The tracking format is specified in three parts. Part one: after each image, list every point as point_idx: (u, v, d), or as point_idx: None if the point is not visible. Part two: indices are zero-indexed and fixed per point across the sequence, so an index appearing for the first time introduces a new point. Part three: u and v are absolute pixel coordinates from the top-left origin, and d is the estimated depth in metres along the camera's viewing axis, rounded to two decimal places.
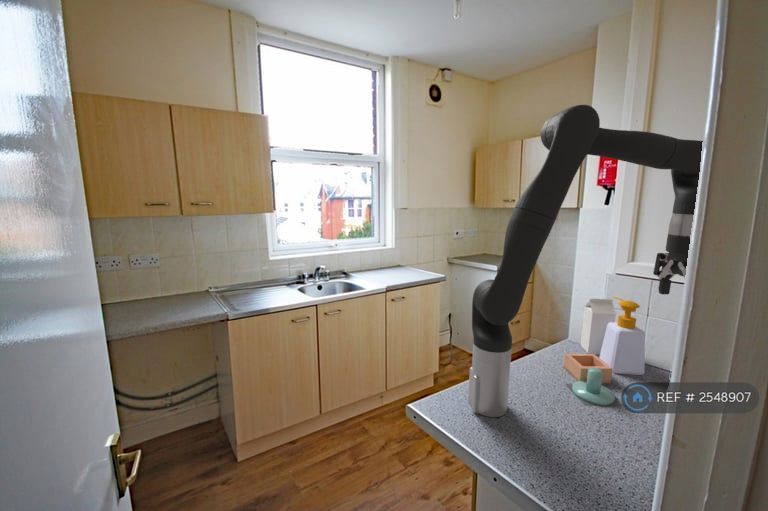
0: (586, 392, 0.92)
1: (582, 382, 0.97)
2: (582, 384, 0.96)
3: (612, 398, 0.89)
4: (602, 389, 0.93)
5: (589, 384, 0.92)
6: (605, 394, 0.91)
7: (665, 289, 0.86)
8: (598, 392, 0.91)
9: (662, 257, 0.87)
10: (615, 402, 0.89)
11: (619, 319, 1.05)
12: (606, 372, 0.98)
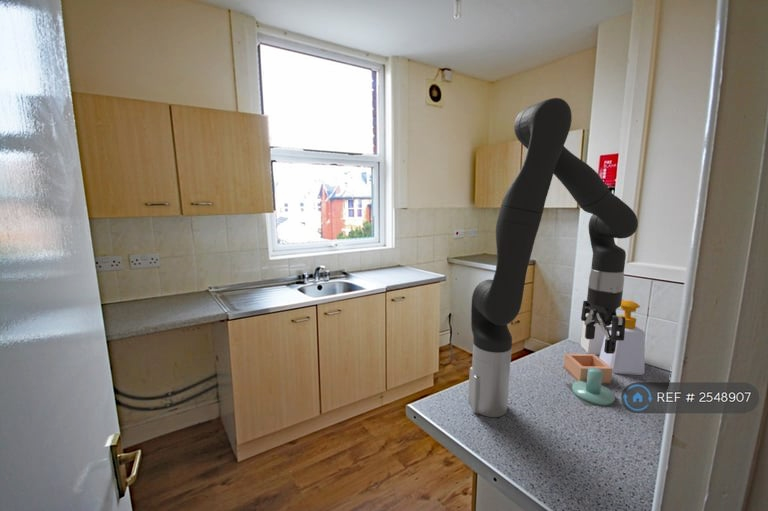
0: (586, 392, 0.92)
1: (582, 382, 0.97)
2: (582, 384, 0.96)
3: (612, 398, 0.89)
4: (602, 389, 0.93)
5: (589, 384, 0.92)
6: (605, 394, 0.91)
7: (590, 334, 0.94)
8: (598, 392, 0.91)
9: (587, 305, 0.94)
10: (615, 402, 0.89)
11: None
12: (606, 372, 0.98)
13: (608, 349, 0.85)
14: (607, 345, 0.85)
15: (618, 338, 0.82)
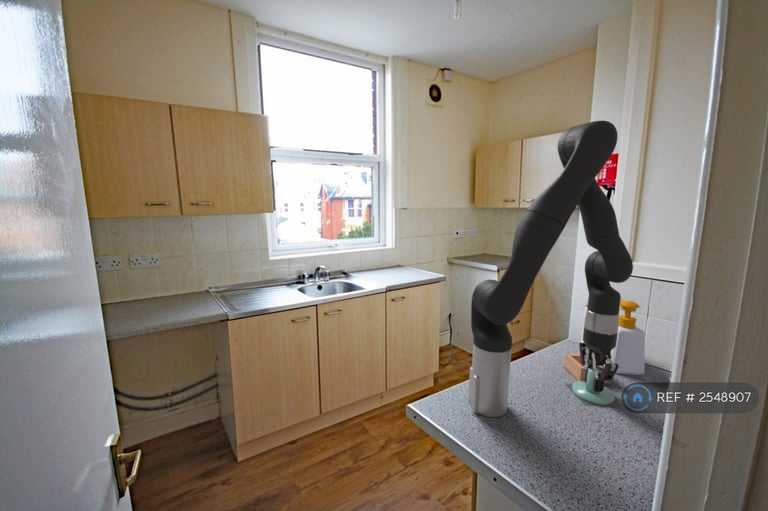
0: (586, 392, 0.92)
1: (582, 382, 0.97)
2: (582, 384, 0.96)
3: (612, 398, 0.89)
4: None
5: (589, 383, 0.92)
6: (605, 394, 0.91)
7: None
8: (598, 392, 0.91)
9: (583, 346, 0.96)
10: (615, 402, 0.89)
11: (619, 319, 1.05)
12: None
13: (597, 388, 0.90)
14: (596, 384, 0.90)
15: (606, 378, 0.87)
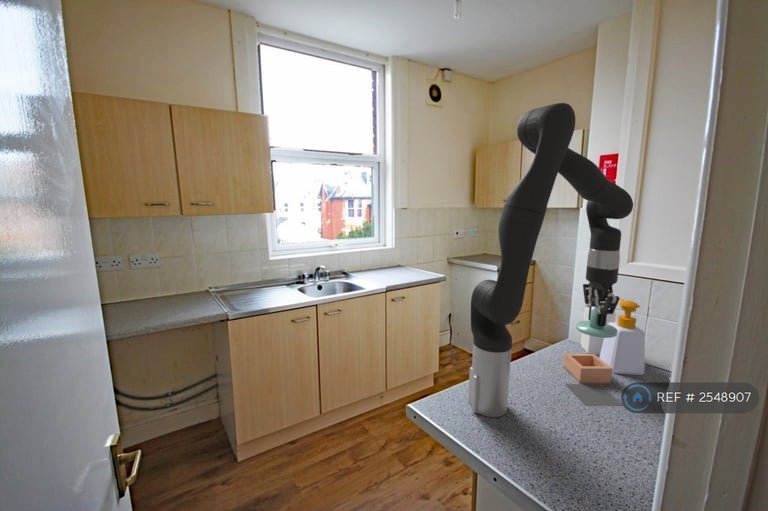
0: (590, 328, 0.97)
1: (586, 321, 1.02)
2: (586, 323, 1.01)
3: (614, 331, 0.94)
4: (605, 326, 0.98)
5: (593, 320, 0.97)
6: (607, 329, 0.96)
7: None
8: (601, 327, 0.96)
9: (587, 287, 1.01)
10: (615, 402, 0.89)
11: (619, 319, 1.05)
12: (606, 372, 0.98)
13: (599, 322, 0.95)
14: (599, 319, 0.95)
15: (608, 312, 0.92)
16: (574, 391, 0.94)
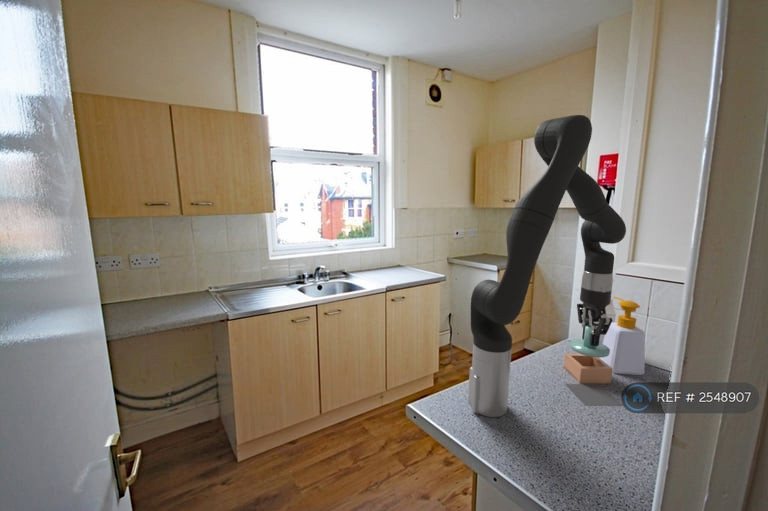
0: (583, 347, 1.00)
1: (580, 340, 1.05)
2: (580, 341, 1.04)
3: (607, 351, 0.98)
4: (598, 345, 1.02)
5: (586, 339, 1.00)
6: (600, 349, 0.99)
7: None
8: (594, 347, 0.99)
9: (581, 307, 1.04)
10: (615, 402, 0.89)
11: (619, 319, 1.05)
12: (606, 372, 0.98)
13: (593, 342, 0.98)
14: (592, 339, 0.98)
15: (601, 332, 0.95)
16: (574, 391, 0.94)
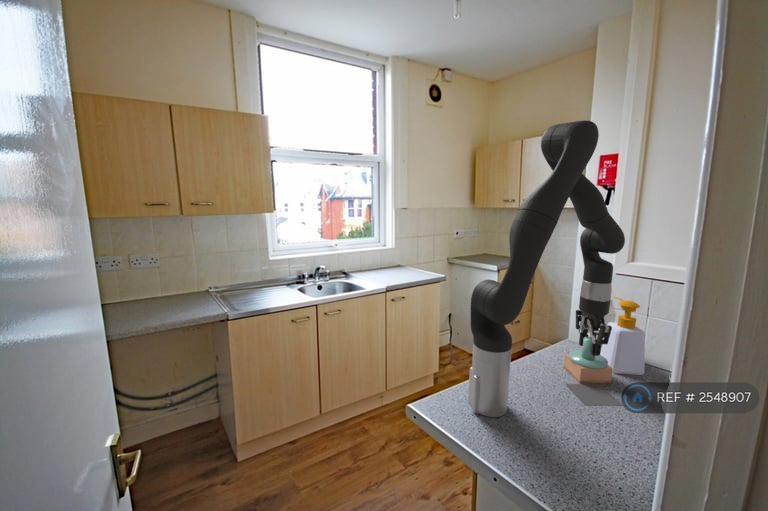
0: (582, 359, 1.01)
1: (578, 351, 1.06)
2: (578, 353, 1.05)
3: (605, 363, 0.98)
4: (596, 356, 1.02)
5: (585, 351, 1.01)
6: (599, 360, 1.00)
7: None
8: (592, 358, 1.00)
9: (579, 313, 1.05)
10: (615, 402, 0.89)
11: (619, 319, 1.05)
12: (606, 372, 0.98)
13: (594, 352, 0.97)
14: (593, 348, 0.97)
15: (603, 342, 0.94)
16: (574, 391, 0.94)
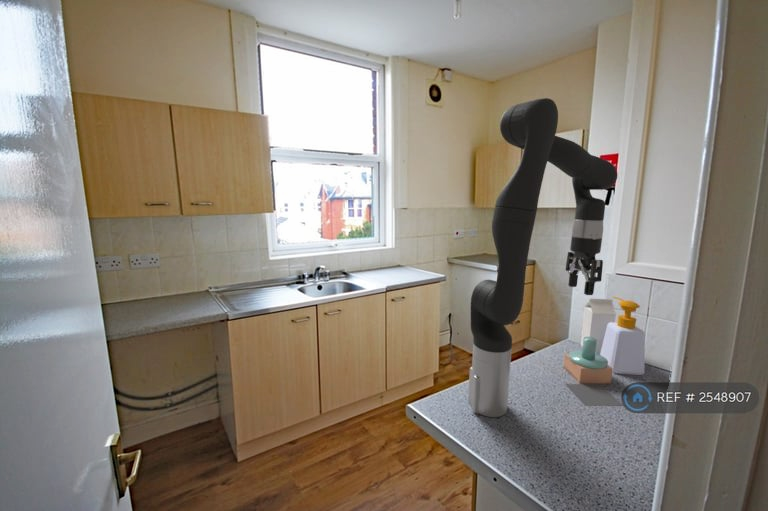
0: (582, 359, 1.01)
1: (578, 351, 1.06)
2: (578, 353, 1.05)
3: (605, 363, 0.98)
4: (596, 356, 1.02)
5: (585, 351, 1.01)
6: (599, 360, 1.00)
7: (573, 282, 1.03)
8: (592, 358, 1.00)
9: (571, 255, 1.03)
10: (615, 402, 0.89)
11: (619, 319, 1.05)
12: (606, 372, 0.98)
13: (587, 290, 0.95)
14: (586, 287, 0.95)
15: (596, 279, 0.92)
16: (574, 391, 0.94)
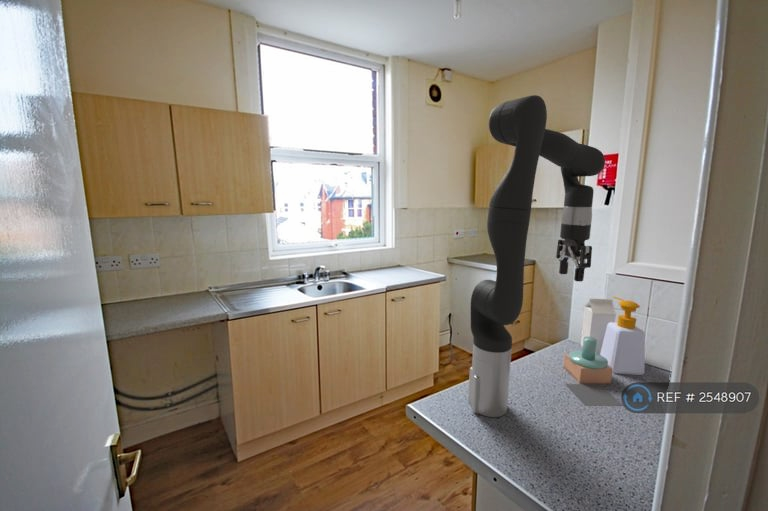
0: (582, 359, 1.01)
1: (578, 351, 1.06)
2: (578, 353, 1.05)
3: (605, 363, 0.98)
4: (596, 356, 1.02)
5: (585, 351, 1.01)
6: (599, 360, 1.00)
7: (563, 269, 1.04)
8: (592, 358, 1.00)
9: (561, 243, 1.04)
10: (615, 402, 0.89)
11: (619, 319, 1.05)
12: (606, 372, 0.98)
13: (577, 277, 0.95)
14: (576, 273, 0.95)
15: (586, 265, 0.92)
16: (574, 391, 0.94)
